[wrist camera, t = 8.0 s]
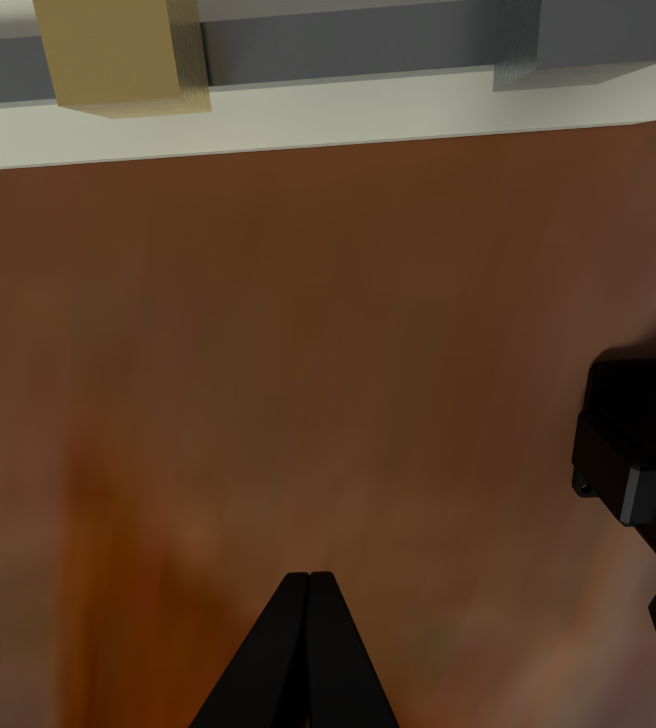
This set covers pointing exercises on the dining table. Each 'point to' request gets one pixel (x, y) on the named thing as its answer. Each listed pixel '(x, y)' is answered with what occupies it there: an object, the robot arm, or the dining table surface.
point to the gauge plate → (310, 106)
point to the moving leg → (125, 56)
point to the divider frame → (399, 46)
